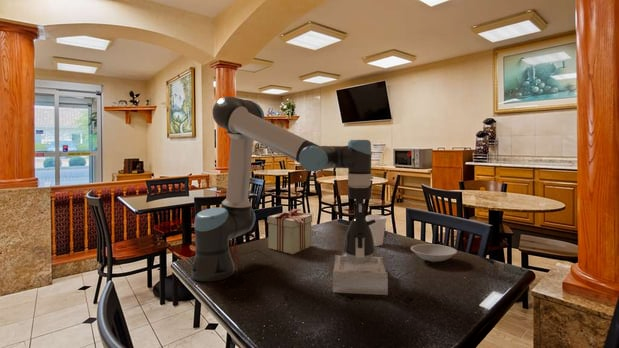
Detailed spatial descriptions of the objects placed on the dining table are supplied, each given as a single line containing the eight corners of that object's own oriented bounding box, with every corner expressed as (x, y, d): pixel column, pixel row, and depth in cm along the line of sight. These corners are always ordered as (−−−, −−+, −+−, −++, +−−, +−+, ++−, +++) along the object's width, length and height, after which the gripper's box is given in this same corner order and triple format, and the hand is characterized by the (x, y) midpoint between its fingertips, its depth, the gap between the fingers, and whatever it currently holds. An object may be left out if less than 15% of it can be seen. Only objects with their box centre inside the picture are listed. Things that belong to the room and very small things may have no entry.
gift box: (300, 256, 134) (300, 216, 133) (266, 249, 143) (265, 212, 142) (319, 245, 149) (319, 209, 147) (287, 240, 158) (286, 206, 156)
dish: (416, 268, 120) (416, 255, 119) (406, 255, 134) (406, 243, 134) (463, 268, 119) (464, 255, 119) (448, 255, 134) (448, 243, 133)
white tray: (332, 292, 100) (332, 267, 100) (336, 265, 123) (336, 245, 122) (387, 295, 98) (388, 270, 98) (380, 267, 121) (380, 246, 120)
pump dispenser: (375, 267, 101) (375, 220, 100) (342, 265, 103) (342, 219, 102) (375, 256, 111) (375, 214, 110) (345, 255, 113) (345, 213, 112)
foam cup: (362, 242, 153) (362, 215, 152) (379, 240, 156) (379, 214, 155) (371, 248, 144) (371, 220, 143) (389, 245, 147) (389, 218, 146)
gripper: (373, 191, 93) (373, 264, 95) (369, 182, 116) (368, 241, 118) (348, 190, 94) (348, 263, 96) (348, 182, 117) (348, 241, 119)
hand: (359, 251), depth 107 cm, fingers closed on pump dispenser, 10 cm apart
